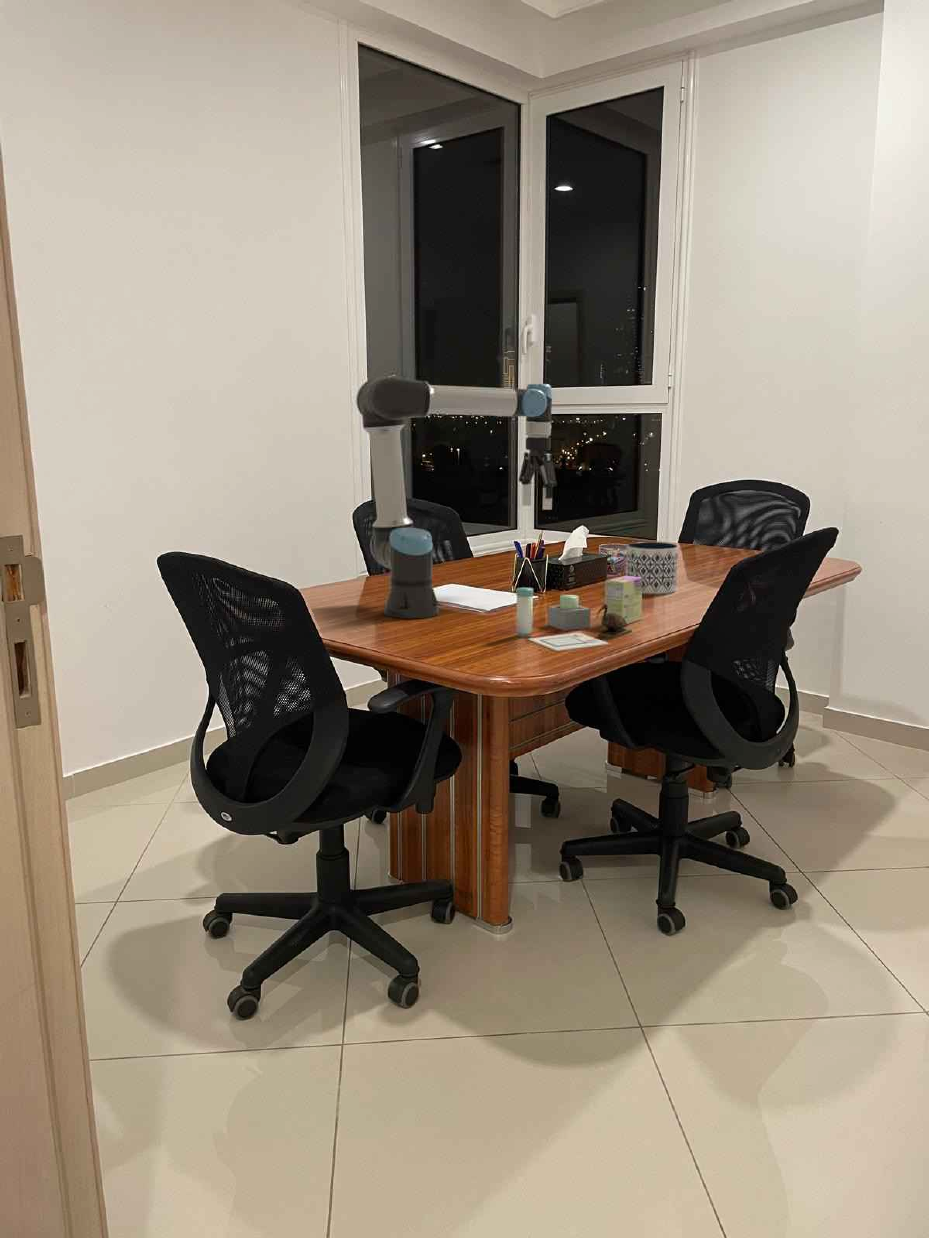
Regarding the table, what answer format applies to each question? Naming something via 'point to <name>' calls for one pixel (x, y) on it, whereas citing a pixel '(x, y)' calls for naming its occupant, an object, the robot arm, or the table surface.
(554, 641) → the sheet
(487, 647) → the table surface
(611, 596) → the box
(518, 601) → the white teal cylinder
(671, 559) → the planter
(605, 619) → the figurine
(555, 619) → the button box
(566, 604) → the button
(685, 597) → the table surface
